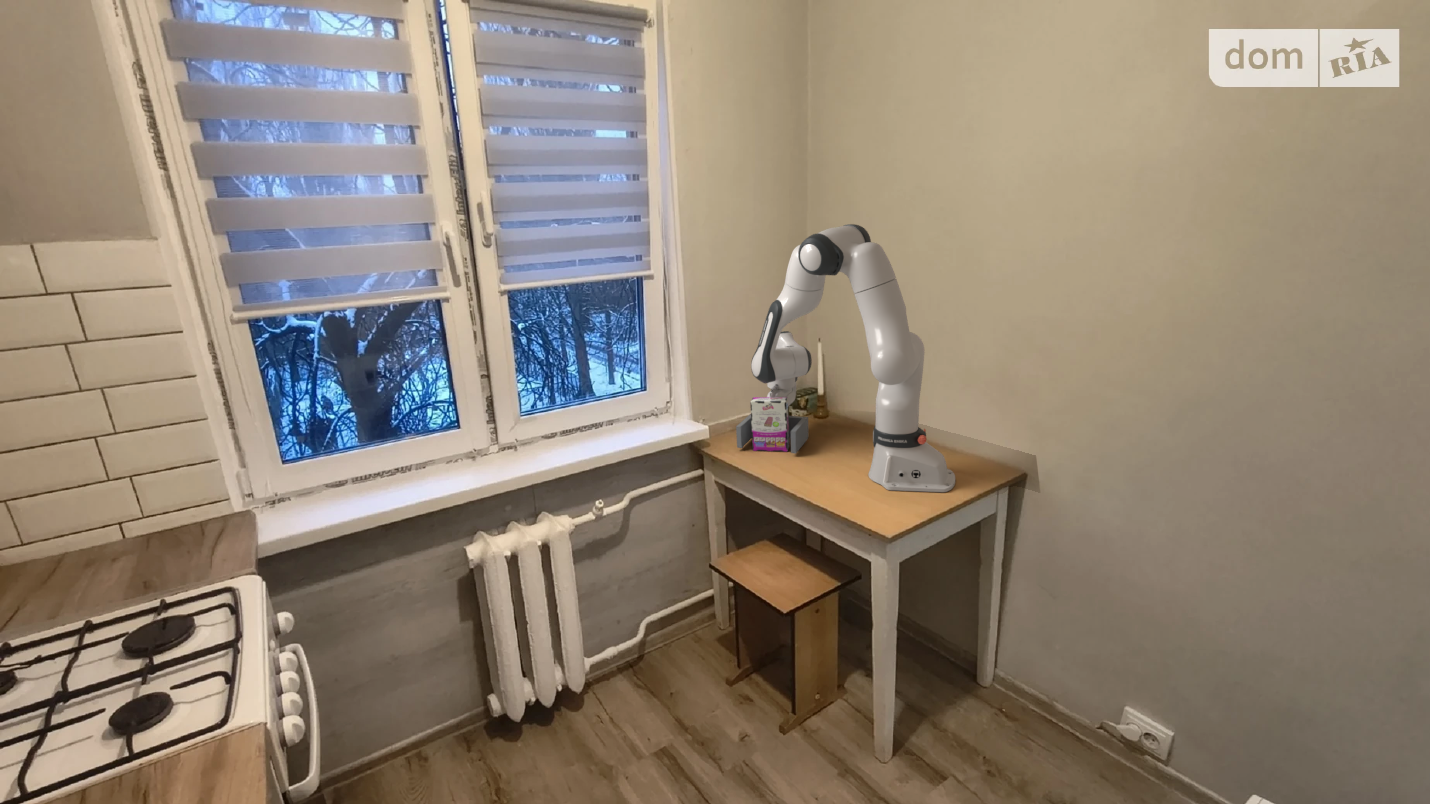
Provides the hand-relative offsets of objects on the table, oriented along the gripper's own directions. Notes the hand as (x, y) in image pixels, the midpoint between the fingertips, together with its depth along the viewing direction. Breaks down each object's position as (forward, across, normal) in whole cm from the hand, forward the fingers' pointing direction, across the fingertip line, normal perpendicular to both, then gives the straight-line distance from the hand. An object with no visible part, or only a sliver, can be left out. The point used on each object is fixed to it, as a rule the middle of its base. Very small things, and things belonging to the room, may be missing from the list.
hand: (782, 421), depth 208 cm
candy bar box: (+5, -12, 0) cm, 13 cm away
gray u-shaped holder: (+5, -9, 0) cm, 11 cm away
